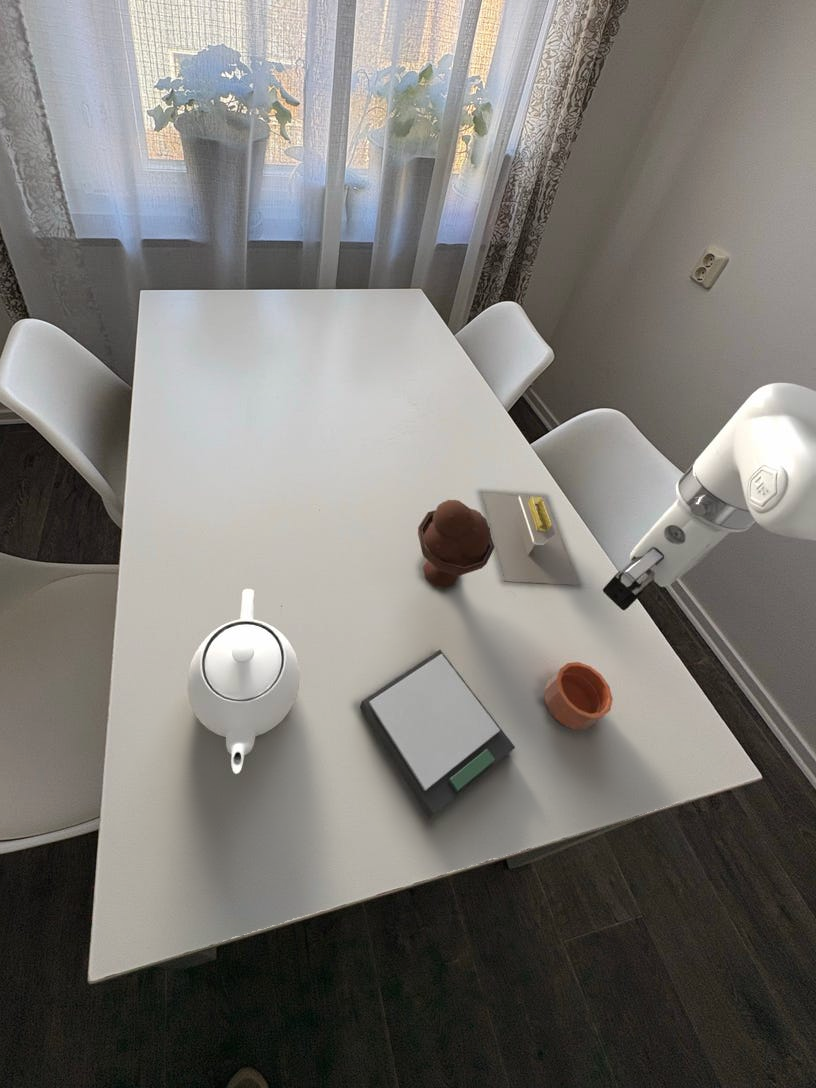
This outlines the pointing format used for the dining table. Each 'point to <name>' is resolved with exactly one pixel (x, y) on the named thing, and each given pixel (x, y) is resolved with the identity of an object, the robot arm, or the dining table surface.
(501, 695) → the dining table surface
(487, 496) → the platform
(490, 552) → the ice cream bowl
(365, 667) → the dining table surface
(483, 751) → the scale
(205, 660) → the teapot
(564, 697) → the dip bowl
